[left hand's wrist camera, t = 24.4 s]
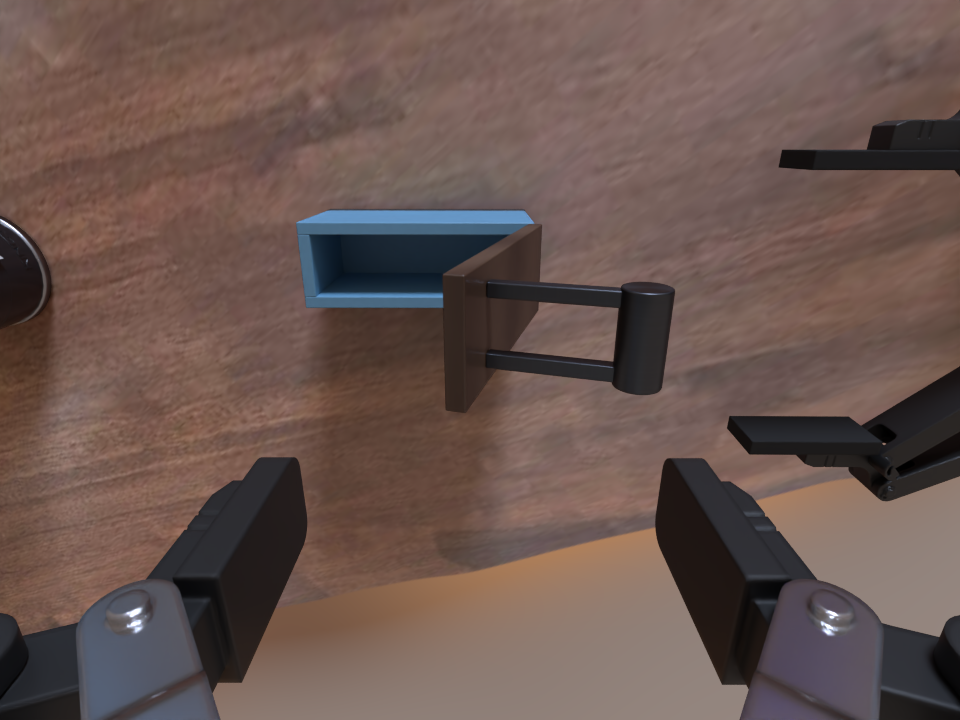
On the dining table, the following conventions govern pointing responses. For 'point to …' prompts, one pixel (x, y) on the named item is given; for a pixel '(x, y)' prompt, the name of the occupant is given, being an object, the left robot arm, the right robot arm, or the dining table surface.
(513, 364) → the lid
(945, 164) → the right robot arm
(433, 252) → the chest
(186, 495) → the dining table surface
